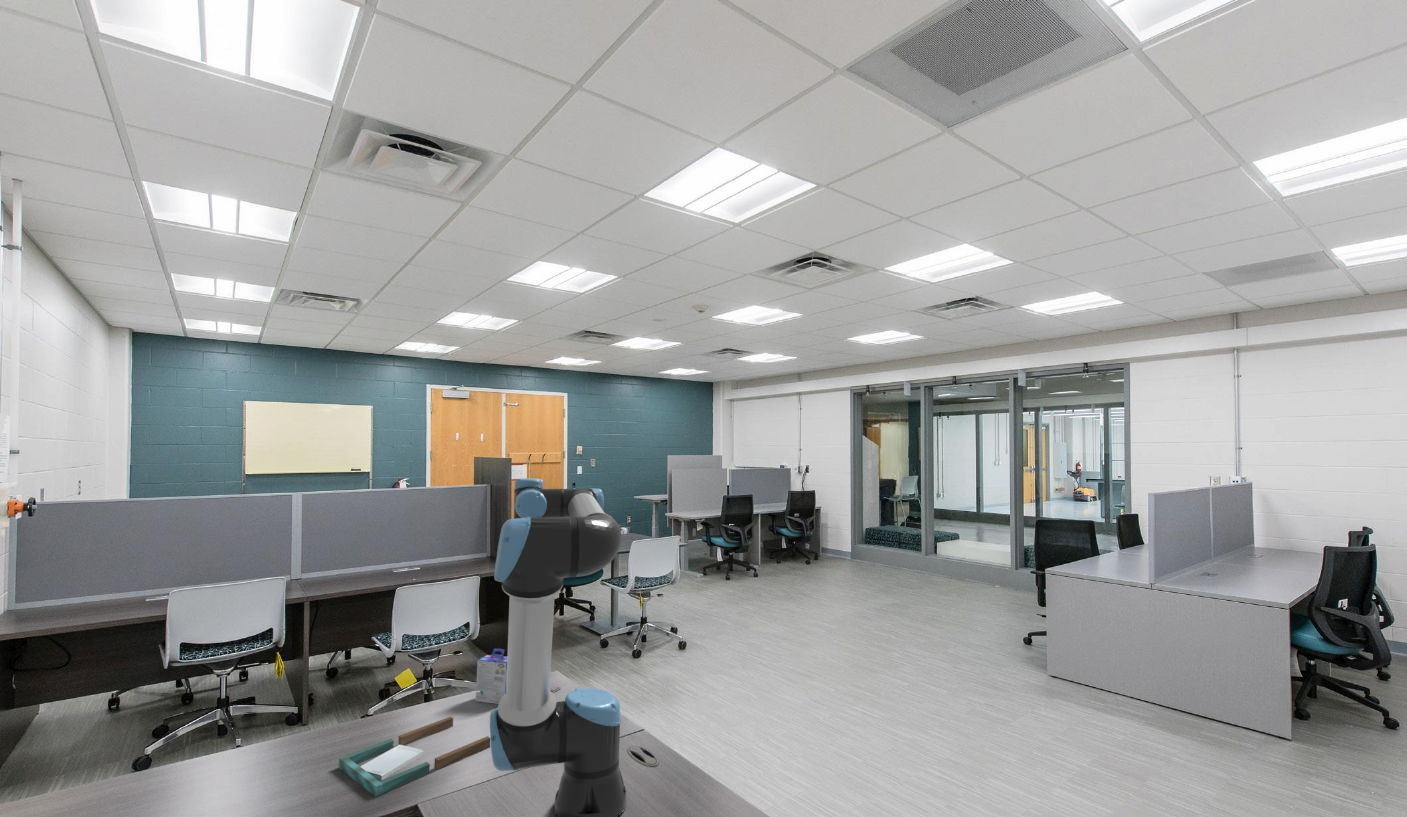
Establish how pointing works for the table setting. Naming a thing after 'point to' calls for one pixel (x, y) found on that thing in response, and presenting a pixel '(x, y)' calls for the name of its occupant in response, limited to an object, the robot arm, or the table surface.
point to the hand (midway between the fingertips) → (524, 625)
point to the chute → (381, 787)
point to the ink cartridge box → (491, 677)
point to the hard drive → (391, 761)
